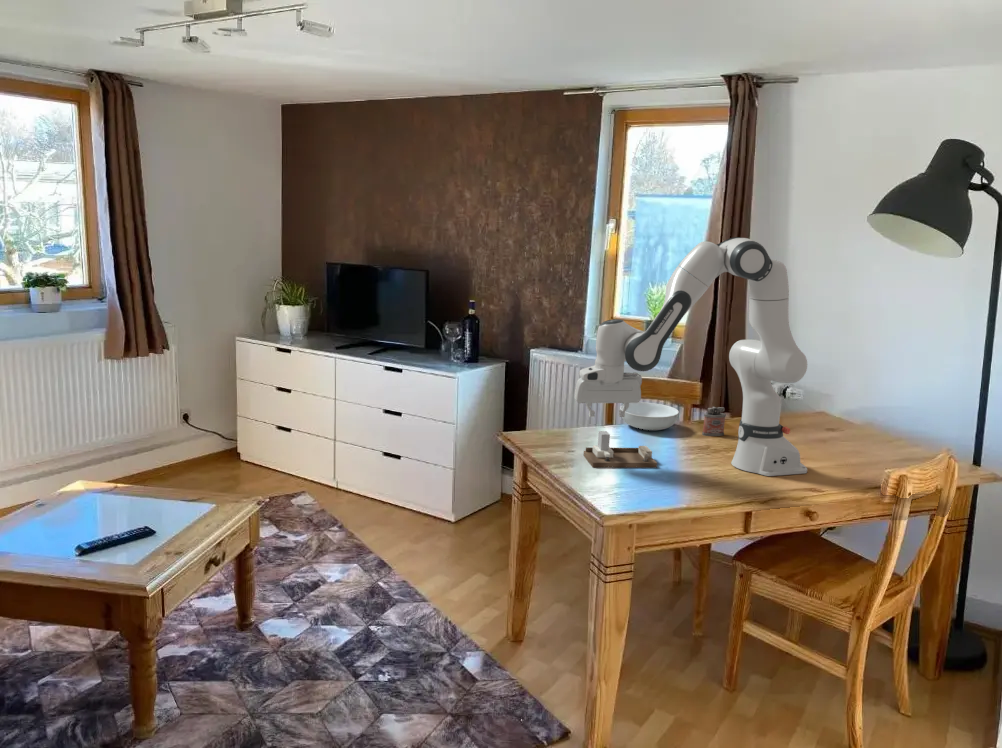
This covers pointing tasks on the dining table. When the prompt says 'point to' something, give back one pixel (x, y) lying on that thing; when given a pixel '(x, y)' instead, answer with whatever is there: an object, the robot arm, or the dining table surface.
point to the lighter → (714, 422)
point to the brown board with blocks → (623, 458)
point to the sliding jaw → (603, 446)
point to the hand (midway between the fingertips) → (606, 416)
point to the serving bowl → (650, 416)
